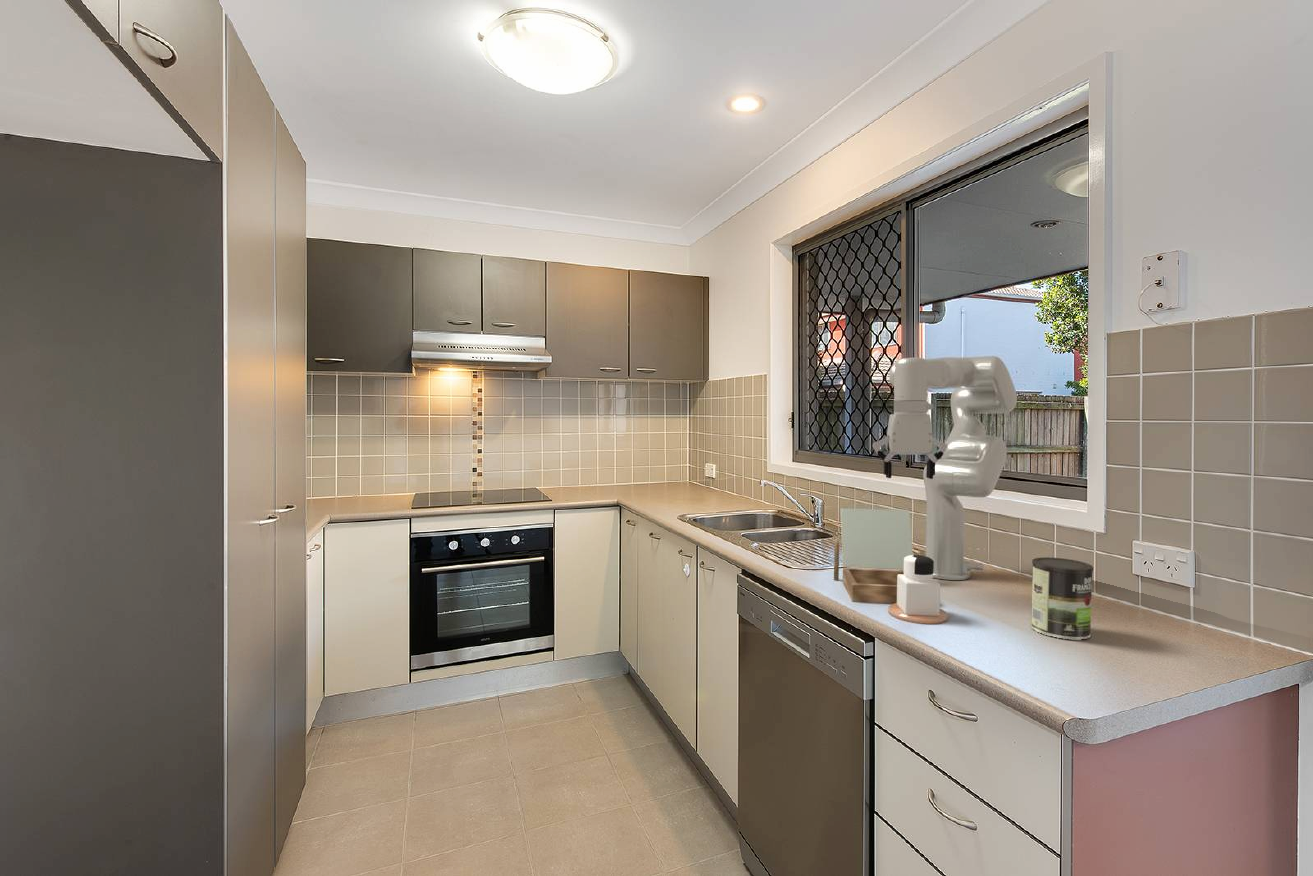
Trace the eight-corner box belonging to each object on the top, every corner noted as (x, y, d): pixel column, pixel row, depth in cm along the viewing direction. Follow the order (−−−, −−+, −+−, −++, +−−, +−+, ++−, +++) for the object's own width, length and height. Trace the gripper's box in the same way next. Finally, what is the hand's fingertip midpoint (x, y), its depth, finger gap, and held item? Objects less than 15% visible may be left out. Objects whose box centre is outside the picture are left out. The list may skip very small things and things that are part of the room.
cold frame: (913, 586, 155) (913, 570, 155) (930, 605, 140) (930, 588, 140) (842, 583, 158) (843, 567, 158) (852, 601, 143) (852, 584, 143)
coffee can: (1101, 635, 121) (1104, 565, 121) (1072, 644, 117) (1074, 572, 116) (1048, 619, 131) (1050, 554, 130) (1019, 627, 126) (1021, 560, 125)
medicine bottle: (929, 606, 137) (930, 553, 136) (940, 616, 130) (941, 561, 129) (896, 604, 138) (897, 552, 137) (905, 615, 131) (906, 560, 130)
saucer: (938, 607, 139) (938, 603, 139) (955, 625, 127) (955, 621, 127) (883, 604, 141) (883, 601, 141) (895, 622, 129) (895, 618, 129)
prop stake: (838, 579, 162) (838, 538, 161) (838, 580, 160) (839, 539, 160) (833, 579, 162) (834, 538, 161) (834, 580, 161) (834, 539, 160)
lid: (913, 569, 155) (911, 570, 157) (909, 510, 160) (907, 511, 161) (843, 566, 158) (842, 567, 160) (841, 508, 162) (840, 509, 164)
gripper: (943, 408, 151) (941, 477, 152) (870, 408, 154) (869, 475, 155) (952, 408, 144) (951, 480, 145) (876, 408, 147) (875, 479, 148)
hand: (908, 478), depth 150 cm, fingers open, 9 cm apart
